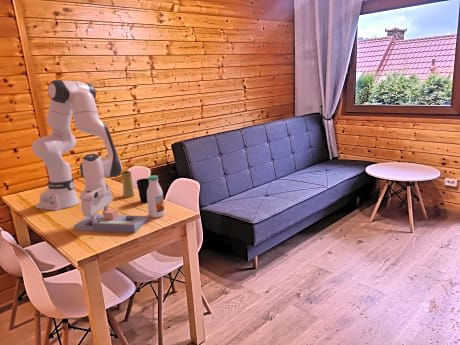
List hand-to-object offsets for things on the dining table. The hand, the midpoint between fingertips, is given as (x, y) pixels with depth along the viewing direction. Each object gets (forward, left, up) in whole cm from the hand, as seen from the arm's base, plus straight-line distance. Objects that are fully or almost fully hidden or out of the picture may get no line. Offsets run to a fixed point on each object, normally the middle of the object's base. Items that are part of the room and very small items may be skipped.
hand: (100, 218), depth 167 cm
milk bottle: (+22, +14, -4) cm, 26 cm away
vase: (-6, +41, -4) cm, 41 cm away
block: (+3, +4, -1) cm, 5 cm away
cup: (+8, +33, -4) cm, 34 cm away
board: (+5, +1, -3) cm, 6 cm away
